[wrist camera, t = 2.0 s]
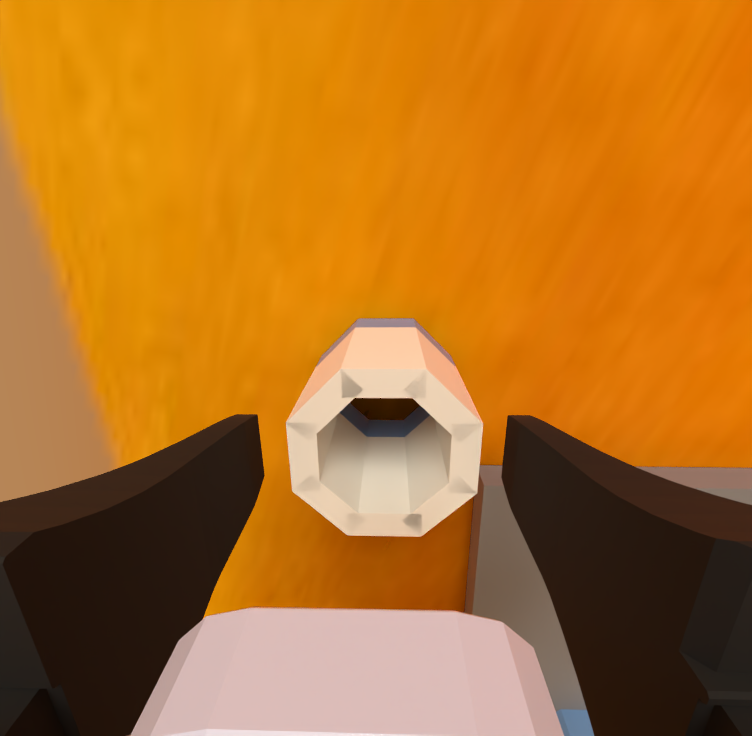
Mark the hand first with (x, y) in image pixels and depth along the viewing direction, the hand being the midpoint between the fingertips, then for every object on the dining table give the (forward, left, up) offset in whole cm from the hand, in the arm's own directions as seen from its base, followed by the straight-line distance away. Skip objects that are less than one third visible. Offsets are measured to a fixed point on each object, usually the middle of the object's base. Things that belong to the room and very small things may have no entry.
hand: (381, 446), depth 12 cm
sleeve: (0, 0, -5) cm, 5 cm away
